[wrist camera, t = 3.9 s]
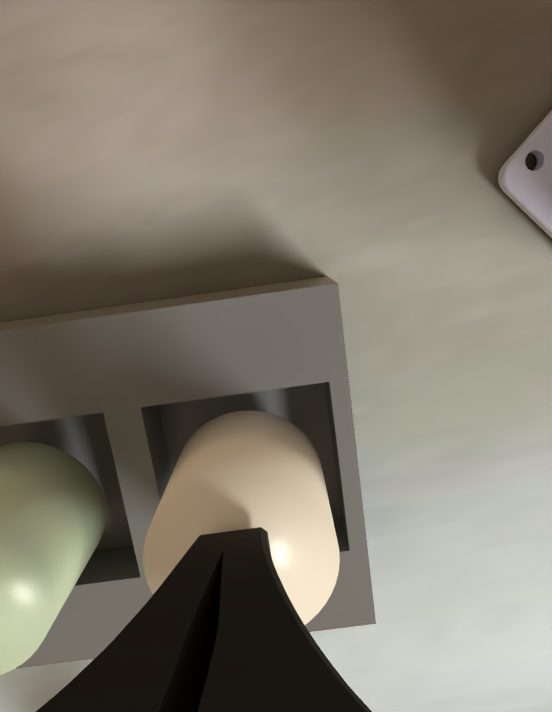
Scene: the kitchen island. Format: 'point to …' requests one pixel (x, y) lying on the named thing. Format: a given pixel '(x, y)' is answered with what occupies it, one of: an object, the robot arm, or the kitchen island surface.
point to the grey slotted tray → (180, 424)
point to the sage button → (41, 541)
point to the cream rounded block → (250, 503)
